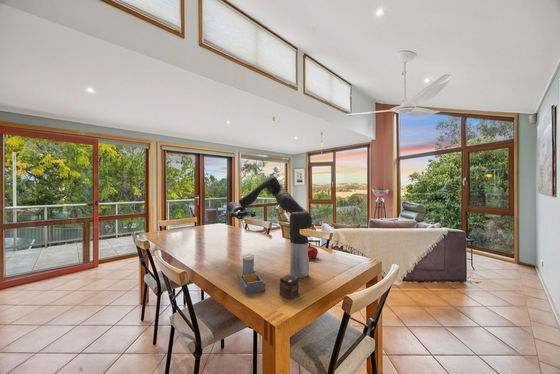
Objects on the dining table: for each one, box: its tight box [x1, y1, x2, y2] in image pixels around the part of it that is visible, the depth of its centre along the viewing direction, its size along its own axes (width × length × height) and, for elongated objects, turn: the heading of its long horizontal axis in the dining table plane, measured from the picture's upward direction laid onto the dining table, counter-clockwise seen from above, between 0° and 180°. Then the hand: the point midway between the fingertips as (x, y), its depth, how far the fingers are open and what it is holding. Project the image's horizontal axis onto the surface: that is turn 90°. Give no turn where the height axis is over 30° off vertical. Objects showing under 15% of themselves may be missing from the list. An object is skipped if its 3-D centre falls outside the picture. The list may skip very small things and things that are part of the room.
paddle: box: [243, 273, 258, 284], centre depth 107 cm, size 7×1×4 cm, turn 113°
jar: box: [241, 253, 255, 278], centre depth 110 cm, size 6×6×12 cm
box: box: [279, 273, 300, 300], centre depth 97 cm, size 6×6×7 cm
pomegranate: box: [308, 243, 319, 260], centre depth 147 cm, size 10×10×9 cm
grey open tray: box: [237, 270, 266, 295], centre depth 106 cm, size 9×16×4 cm, turn 23°
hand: (245, 215), depth 124 cm, fingers open, 8 cm apart
